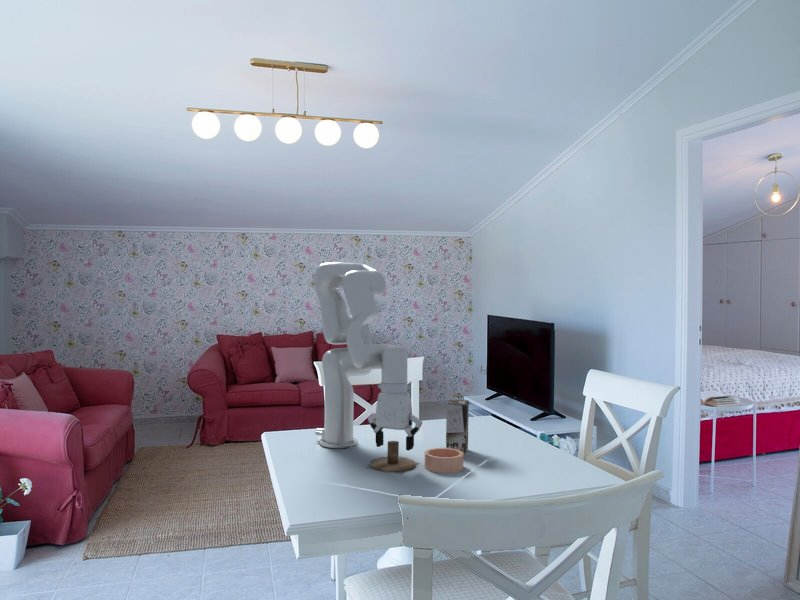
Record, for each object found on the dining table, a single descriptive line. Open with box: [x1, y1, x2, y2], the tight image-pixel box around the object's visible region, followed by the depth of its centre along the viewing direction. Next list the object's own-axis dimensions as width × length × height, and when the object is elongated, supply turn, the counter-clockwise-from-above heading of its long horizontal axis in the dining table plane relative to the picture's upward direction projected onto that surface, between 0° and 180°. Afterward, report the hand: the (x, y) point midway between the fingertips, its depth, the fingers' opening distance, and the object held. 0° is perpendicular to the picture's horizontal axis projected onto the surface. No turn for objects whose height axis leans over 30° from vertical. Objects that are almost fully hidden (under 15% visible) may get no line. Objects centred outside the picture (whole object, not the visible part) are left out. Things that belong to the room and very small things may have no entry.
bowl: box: [423, 447, 465, 474], centre depth 182 cm, size 11×11×4 cm
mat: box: [364, 461, 421, 475], centre depth 182 cm, size 12×12×1 cm
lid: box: [369, 440, 416, 473], centre depth 182 cm, size 13×13×7 cm
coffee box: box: [445, 399, 470, 457], centre depth 199 cm, size 9×6×16 cm
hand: (394, 447), depth 182 cm, fingers open, 9 cm apart
